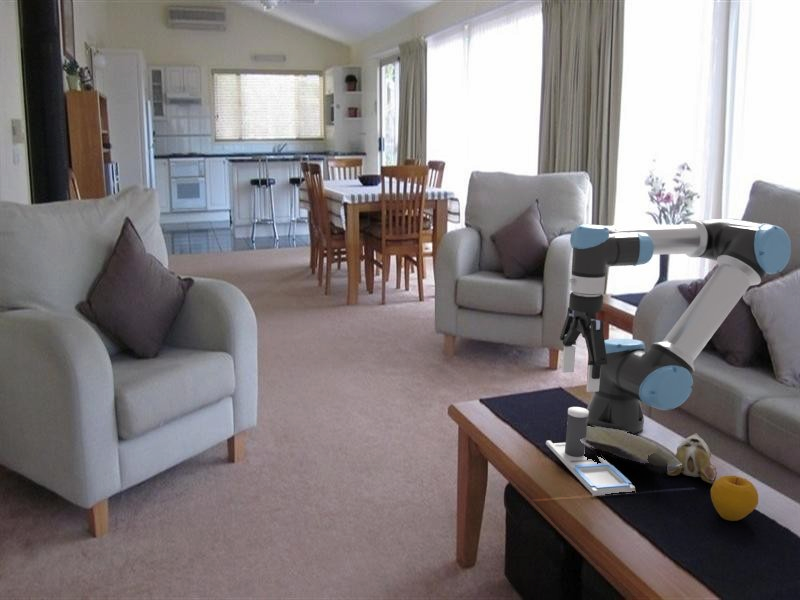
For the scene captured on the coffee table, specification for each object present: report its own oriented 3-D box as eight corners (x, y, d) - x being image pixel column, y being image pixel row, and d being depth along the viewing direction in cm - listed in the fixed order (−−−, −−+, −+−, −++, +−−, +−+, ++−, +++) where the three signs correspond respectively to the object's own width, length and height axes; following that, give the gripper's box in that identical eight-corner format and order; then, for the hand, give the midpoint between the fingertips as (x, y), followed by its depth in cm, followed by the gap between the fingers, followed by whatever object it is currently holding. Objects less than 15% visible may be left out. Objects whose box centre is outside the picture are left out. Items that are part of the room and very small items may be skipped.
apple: (742, 535, 144) (749, 492, 142) (698, 516, 150) (704, 476, 148) (762, 520, 149) (768, 479, 147) (719, 503, 156) (724, 463, 154)
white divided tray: (582, 443, 184) (583, 437, 184) (635, 492, 159) (636, 485, 159) (545, 445, 182) (545, 439, 182) (592, 496, 157) (593, 489, 157)
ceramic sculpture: (721, 430, 172) (719, 459, 159) (717, 464, 174) (714, 495, 161) (673, 422, 176) (666, 449, 163) (669, 455, 178) (663, 484, 165)
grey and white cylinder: (579, 448, 180) (583, 406, 178) (588, 456, 176) (592, 413, 173) (561, 449, 179) (564, 407, 177) (569, 457, 175) (573, 414, 172)
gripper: (550, 282, 180) (544, 365, 185) (595, 306, 156) (587, 401, 161) (578, 281, 181) (572, 364, 186) (628, 305, 157) (619, 399, 162)
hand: (579, 381), depth 173 cm, fingers open, 13 cm apart
